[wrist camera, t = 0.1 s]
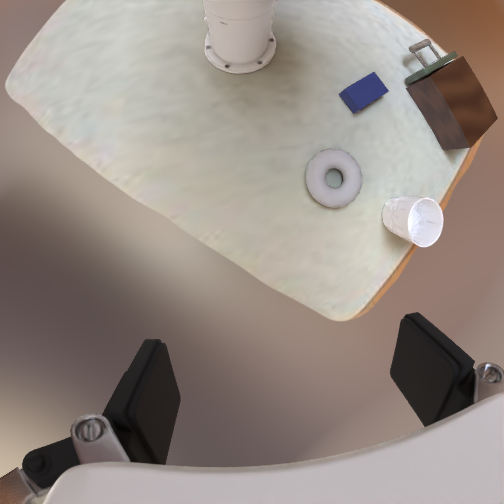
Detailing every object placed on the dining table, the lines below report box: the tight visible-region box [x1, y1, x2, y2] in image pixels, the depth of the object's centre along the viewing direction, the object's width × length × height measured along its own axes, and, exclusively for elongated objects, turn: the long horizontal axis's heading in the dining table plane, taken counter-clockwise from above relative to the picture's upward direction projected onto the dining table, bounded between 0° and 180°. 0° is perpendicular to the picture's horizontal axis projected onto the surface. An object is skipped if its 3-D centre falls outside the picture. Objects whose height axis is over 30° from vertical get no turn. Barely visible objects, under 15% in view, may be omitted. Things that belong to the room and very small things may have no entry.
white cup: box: [382, 197, 443, 247], centre depth 41 cm, size 8×8×10 cm
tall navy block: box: [339, 72, 388, 113], centre depth 39 cm, size 8×4×3 cm, turn 128°
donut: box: [306, 148, 362, 208], centre depth 43 cm, size 10×3×10 cm
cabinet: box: [406, 56, 497, 150], centre depth 36 cm, size 15×15×9 cm
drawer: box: [405, 39, 458, 84], centre depth 35 cm, size 18×14×7 cm
